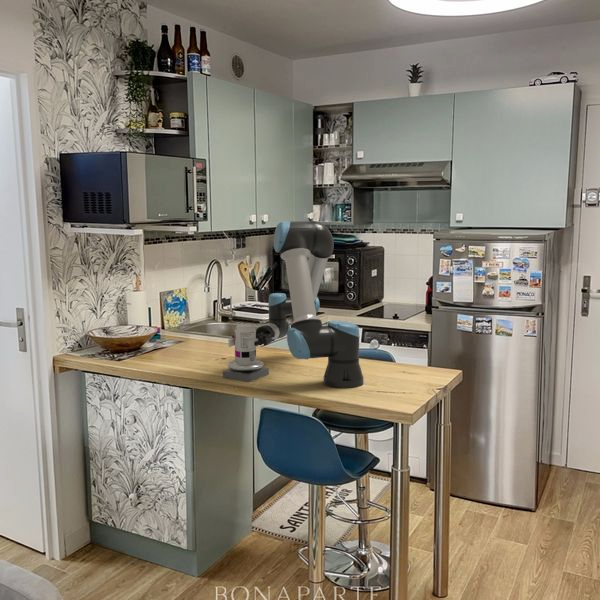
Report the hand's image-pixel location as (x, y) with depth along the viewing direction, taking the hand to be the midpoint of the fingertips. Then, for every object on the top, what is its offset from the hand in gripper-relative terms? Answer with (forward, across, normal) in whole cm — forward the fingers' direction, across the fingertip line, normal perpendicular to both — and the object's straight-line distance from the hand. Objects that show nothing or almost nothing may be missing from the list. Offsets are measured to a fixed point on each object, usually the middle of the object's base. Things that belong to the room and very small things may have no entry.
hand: (239, 344), depth 246 cm
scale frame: (-5, 0, -14) cm, 14 cm away
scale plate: (-5, 0, -12) cm, 13 cm away
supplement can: (-5, 0, -9) cm, 10 cm away
